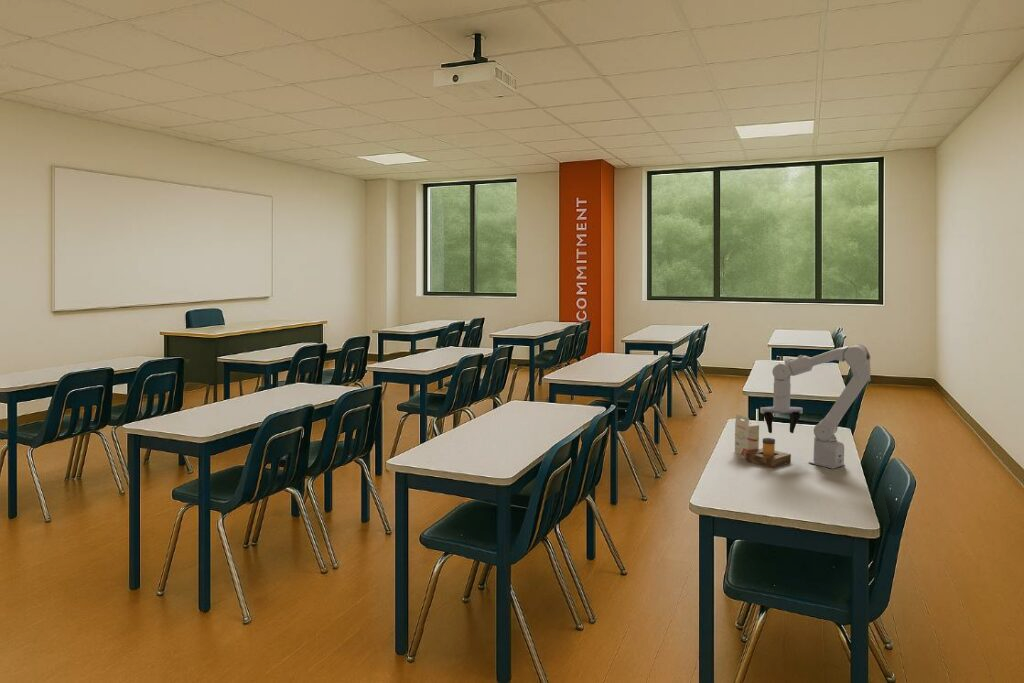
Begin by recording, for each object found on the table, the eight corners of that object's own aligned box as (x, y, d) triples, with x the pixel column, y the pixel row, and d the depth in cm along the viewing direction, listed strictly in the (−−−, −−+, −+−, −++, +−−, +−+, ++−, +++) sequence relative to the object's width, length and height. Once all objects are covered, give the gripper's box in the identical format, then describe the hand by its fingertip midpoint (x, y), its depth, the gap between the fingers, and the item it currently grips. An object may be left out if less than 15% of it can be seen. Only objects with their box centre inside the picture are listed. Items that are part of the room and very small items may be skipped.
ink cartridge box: (759, 456, 263) (760, 417, 262) (747, 457, 262) (748, 418, 260) (745, 450, 271) (746, 412, 270) (733, 451, 270) (734, 413, 268)
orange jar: (776, 461, 256) (777, 439, 255) (770, 463, 253) (770, 441, 252) (766, 459, 259) (766, 437, 258) (759, 461, 256) (760, 439, 256)
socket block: (790, 462, 255) (790, 454, 255) (773, 468, 248) (773, 459, 248) (763, 455, 264) (763, 447, 263) (745, 461, 257) (745, 453, 257)
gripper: (764, 398, 255) (763, 435, 257) (806, 397, 254) (804, 435, 256) (759, 394, 262) (758, 430, 264) (799, 394, 261) (798, 430, 263)
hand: (780, 432), depth 260 cm, fingers open, 7 cm apart
